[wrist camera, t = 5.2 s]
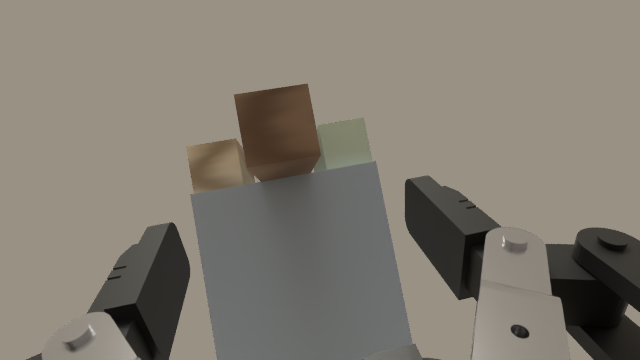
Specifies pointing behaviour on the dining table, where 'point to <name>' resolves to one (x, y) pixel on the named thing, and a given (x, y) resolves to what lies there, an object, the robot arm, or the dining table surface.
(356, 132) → the sage bar
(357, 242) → the stand
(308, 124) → the walnut bar
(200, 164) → the maple bar
